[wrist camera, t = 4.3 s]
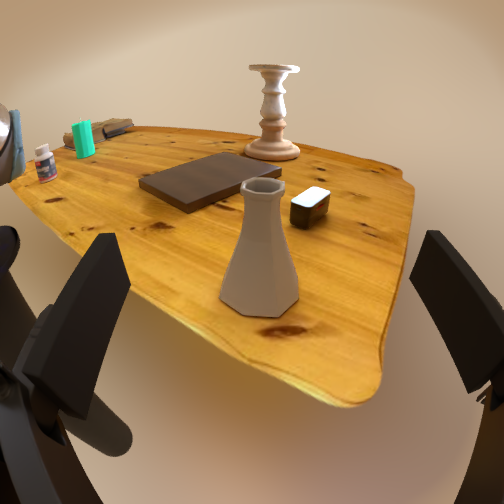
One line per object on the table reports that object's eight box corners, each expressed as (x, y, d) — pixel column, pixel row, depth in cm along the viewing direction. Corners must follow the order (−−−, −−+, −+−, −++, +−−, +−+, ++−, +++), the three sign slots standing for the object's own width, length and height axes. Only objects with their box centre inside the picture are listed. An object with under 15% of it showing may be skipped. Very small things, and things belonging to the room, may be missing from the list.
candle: (98, 152, 69) (92, 114, 62) (80, 159, 65) (73, 120, 58) (91, 151, 72) (85, 114, 65) (74, 157, 68) (68, 120, 61)
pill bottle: (36, 185, 52) (28, 152, 46) (44, 177, 56) (37, 146, 51) (53, 180, 53) (45, 146, 48) (60, 173, 57) (53, 141, 52)
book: (74, 151, 76) (71, 134, 72) (64, 147, 84) (61, 133, 81) (135, 131, 91) (133, 116, 88) (117, 129, 100) (116, 116, 96)
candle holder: (282, 165, 53) (286, 64, 42) (233, 154, 59) (232, 65, 47) (308, 152, 62) (313, 68, 50) (263, 143, 67) (264, 66, 55)
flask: (284, 330, 22) (299, 217, 16) (204, 303, 24) (190, 196, 18) (308, 275, 27) (323, 177, 21) (240, 257, 29) (239, 163, 23)
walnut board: (187, 213, 37) (186, 203, 36) (139, 187, 45) (138, 179, 44) (281, 175, 49) (281, 167, 48) (224, 158, 57) (224, 151, 56)
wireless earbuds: (331, 211, 38) (334, 190, 36) (306, 232, 33) (309, 208, 31) (302, 201, 40) (304, 180, 38) (274, 220, 36) (275, 196, 34)
